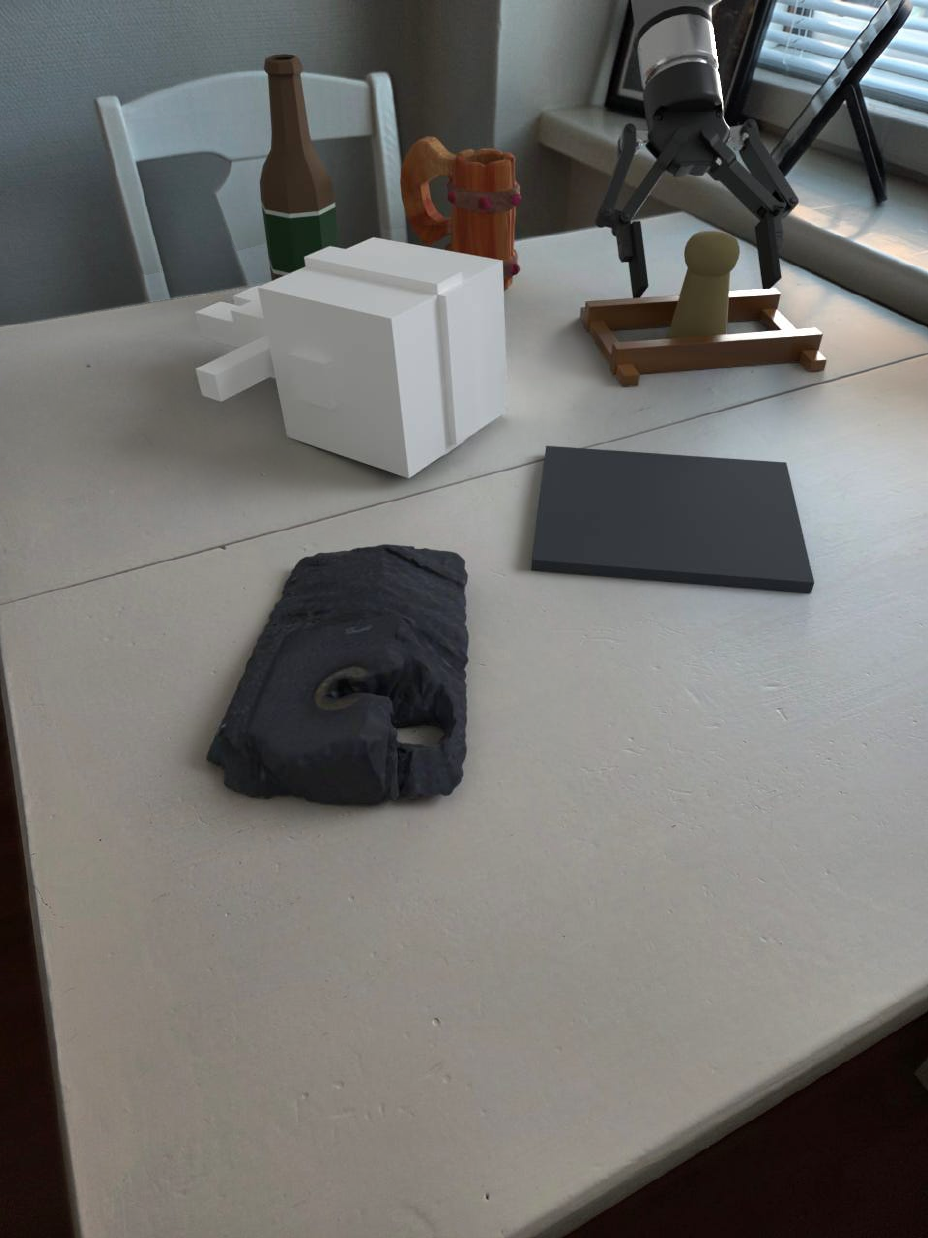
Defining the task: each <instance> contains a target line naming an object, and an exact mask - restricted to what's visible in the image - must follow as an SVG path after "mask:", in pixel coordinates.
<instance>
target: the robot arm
mask: <svg viewBox="0 0 928 1238" xmlns="http://www.w3.org/2000/svg"><path fill="white" fill-rule="evenodd" d="M721 1H722V0H630V2H631V9H632V15H633V23H634V30H635V36H636V42H635V43H636V47H637V58H638V64H639V74H640V82H641V83H640V84H641V87H642V89H643V93H642V100H643V107H644V115H645V122H646V124H645V125H646V127H647V130H645V129H637V127H636V125H635V124H633V123H631V122H628V123H626V124H625V125H624V127H623V129H622V132H621V133H620V135H619V137H618V139H617V160H616V162H615V165H614V168H613V170H612V172H611V176H610V178H609V181H608V184H607V187H606V190H605V192H604V195H603V198H602V201H601V203H600V206H599V209H598V211H597V214H596V217H595V219H594V223H595V225H596V227H598V228H599V229H602V228H609V229H610V232H611V235H612V236H614V237H615V238H616V247H617V255H618V259H619V261H620V263H628V270H629V278H630V286H631V293H632V294H631V295H632V298H640V297H643V295H644V293H645V292H646V291H647V289H648V288H649V286H650V285H649V278H648V270H647V264H646V263H647V262H646V254H645V247H644V239H643V232H642V231H643V230H642V223H641V220H636V221H635V220H633V219H634V218H635V216H636V214H637V213H638V211H640V209H641V207H642V206H643V204H644V203H645V202H646V200H647V198H648V197H649V196H650V194H651V193H652V191H653V189H655V187H656V185H657V184H658V183H659V181H660V180H661V179H662V177H663V176H664V174H665V173H666V172H667V173H668V174H670V175H671V176H673V178H682V177H685V176H694V177H703V176H704V175H705V174H708V176H709V177H711V178H712V180H714V181H716V182H720V183H721V184H722V185H723V187H725V188H726V189H727V190H728V191H729V192H730V193H731V194H732V195H733V196H734V197H735V198H736V199H737V200H738V201H739V202H740V203H741V204H742V205H743V206H744V207H745V208H746V209H747V210H748V211H749V212H750V213H751V214H752V215H753V216H754V217H755V218H756V219H758V223H756V225H755V226H754V234H755V242H756V250H757V258H758V265H759V273H760V281H761V287H762V288H761V289H763V290H765V289H772V288H774V286H775V285H776V284H777V283H778V282H779V281H781V280H782V277H783V276H782V270H781V262H780V255H779V252H780V251H781V250H782V249H783V248H784V246H785V241H786V240H785V236H784V235H785V233H784V228H783V226H784V225H783V220H782V219H785V218H787V217H788V215H789V214H790V213H791V212H792V211H793V210H794V209H795V208H796V207H797V206H798V204H799V202H800V201H799V197H798V196H797V194H796V192H795V190H794V189H793V188H792V186H791V185H790V183H789V181H788V180H787V178H786V176H785V175H784V174H783V172H782V171H781V169H780V167H779V166H778V164H777V163H776V161H775V159H774V158H773V157H772V155H771V153H770V152H769V150H768V148H767V147H766V146H765V143H764V142H763V141H762V139H761V136H760V132H759V127H758V123H757V121H756V120H755V119H753V118H748V119H746V120H745V122H744V123H743V124H741V125H734V126H729V125H728V123H727V122H726V120H725V118H724V100H723V93H722V85H721V78H720V73H719V71H718V69H719V62H718V56H717V49H716V41H715V34H714V33H715V32H714V26H713V17H712V16H713V15H712V8H713V7H714V6H715V5H717V4H719V3H720V2H721ZM727 143H731V144H732V145H733V149H732V148H731V147H729V146H728V145H727ZM643 146H645V148H646V150H647V151H648V153H650V154H651V156H652V157H653V158H654V159H655V161H654V163H653V164H652V166H651V167H650V169H649V170H648V172H647V173H646V175H645V176H644V178H643V180H642V181H641V182H640V184H639V185H638V186H637V188H636V190H635V191H634V192H633V194H632V196H631V197H630V198H629V200H628V201H627V202H626V204H625V205H624V207H623V208H622V210H619V209H615V208H616V205H617V204H618V200H619V197H620V195H621V192H622V190H623V187H624V184H625V181H626V178H627V175H628V173H629V170H630V168H631V166H632V165H631V164H632V162H633V159H634V156H636V155H638V154H639V152H640V150H641V148H643ZM733 150H734V151H735V152H738V153H739V156H740V158H741V160H742V162H743V164H744V165H742V164H741V163H740V162H739V160H738V159H737V154H736V153H735V152H734V151H733ZM718 160H720V161H721V163H720V164H719V163H718V162H717V161H718Z"/></svg>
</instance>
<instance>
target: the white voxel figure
mask: <svg viewBox="0 0 928 1238" xmlns="http://www.w3.org/2000/svg"><path fill="white" fill-rule="evenodd" d="M304 260H305V266H306V267H303V268H301V269H299V270H296V271H294V272H292V273H290V274H287V275H285V276H283V277H280V278H278V279H276V280H273V281H272V280H270V281H269V282H267V283H264V284H262V285H255V286H253V287H250V288H248V289H246V290H244V291H241V292H239V293H236V294H234V295H232V299H233V303H234V304H233V303H229V302H225V301H218V302H215V303H213V304H210V305H208V306H206V307H203V308H202V309H199V310H197V311H195V317H196V321H197V326H198V330H199V335H200V337H201V338H203V339H208V340H212V341H214V342H218V343H222V344H225V345H228V346H232V347H236V349H234V350H232V351H231V352H230V351H229V352H228V353H226V354H223V355H222V356H220V357H217V358H215V359H214V360H212V361H208V362H207V363H205V364H203V365H200V366H198V367H197V368H195V372H196V377H197V380H198V385H199V388H200V392H201V395H202V396H203V397H205V398H208V399H211V400H213V401H217V402H224V401H225V400H227V399H229V398H231V397H233V396H235V395H238V394H240V393H241V392H243V391H245V390H248V389H249V388H251V387H253V386H254V385H256V384H258V383H260V382H262V381H265V380H267V379H268V378H272V379H275V382H276V387H277V393H278V397H279V402H280V408H281V413H282V418H283V423H284V429H285V433H286V437H287V438H290V439H293V440H296V441H298V442H301V443H304V444H307V445H310V446H313V447H316V448H318V449H321V450H325V451H328V452H331V453H334V454H336V455H339V456H342V457H346V458H348V459H351V460H354V461H357V462H360V463H362V464H366V465H369V466H370V467H371V466H372V467H375V468H378V469H380V470H383V471H386V472H389V473H392V474H395V475H398V476H401V477H404V478H406V479H410V478H412V477H413V476H414V475H417V474H418V473H419V472H421V471H423V470H424V469H425V468H426V467H428V466H429V465H431V464H432V463H433V462H435V461H436V460H438V459H439V458H441V457H444V456H445V455H447V454H449V453H450V452H451V451H453V450H454V449H455V448H457V447H459V446H461V444H463V443H464V442H465V441H466V440H467V439H468V438H470V437H471V436H472V435H474V434H475V433H478V431H480V430H481V429H483V428H484V427H486V426H487V425H489V424H490V423H491V422H493V421H494V420H495V419H497V418H499V417H500V416H502V415H503V414H504V413H507V411H509V402H508V377H507V376H508V374H507V373H508V372H507V348H506V347H507V345H506V344H507V343H506V320H505V319H506V318H505V317H506V316H505V314H506V313H505V290H504V284H503V261H502V260H496V259H491V258H485V257H480V256H474V255H469V254H463V253H458V252H452V251H447V250H445V249H440V248H435V247H429V246H423V245H418V244H412V243H407V242H402V241H397V240H390V239H386V238H380V237H374V236H373V237H371V238H367V239H366V240H364V241H361V242H359V243H357V244H354V245H352V246H349V247H347V248H341V247H339V248H337V247H332V246H329V247H326V248H324V249H322V250H319V251H317V252H315V253H312V254H310V255H308V256H305V257H304Z"/></svg>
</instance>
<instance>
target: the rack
mask: <svg viewBox="0 0 928 1238" xmlns="http://www.w3.org/2000/svg"><path fill="white" fill-rule="evenodd" d="M679 296H680V294H671V295H670V294H669V295H656V296H641V297H640V298H633V297H628V298H627V297H625V298H611V299H598V300H596V299H595V300H586V301H585V302H584V303H585V304H584V306H581V307H580V310H579V319H580V321H581V322H582V323H583V324H582V327H583V329H584V330H585V332H586V333H589V335H590V336H591V338H592V340H593V341H594V343H595V345H596V347H597V348H598V349H599V351H600V353H601V354H602V356H603V357H604V359H605V361H606V362H607V364H608V366H609V371H610V373H611V374H612V376H613V377H616V378H617V381H618V382H619V384H620V386H621V387H623V388H626V387H637V386H639V383H640V376H641V375H646V374H647V375H648V374H658V373H671V372H673V373H674V372H684V371H697V370H711V369H712V370H713V369H722V368H734V367H735V368H736V367H751V366H760V365H761V366H762V365H763V366H764V365H773V364H786V363H800V364H801V365H802V366H803V367H804V368H805V369H806V370H807V371H808V372H809V373H813V372H823V371H825V368H826V365H827V361H828V360H827V358H826V357H825V356H824V355H823V354H822V353H821V352H820V351H819V350H820V346H821V344H822V343H821V342H822V339H823V335H824V334H823V333H822V332H821V330H819V329H818V328H817V327H809V328H796V327H795V326H794V325H793V324H792V323H791V322H789V320H788V319H787V318H786V317H784V315H783V314H781V312H780V311H779V310H778V308H779V304H780V299H781V296H782V294H781V292H780V291H779V290H778V289H777V288H775V287H772V288H770V289H765V290H763V288H760V289H759V288H757V289H744V290H731V291H730V290H729V300H728V318H727V323H735V322H736V323H737V322H751V321H760V322H761V323H762V324H763V325H764V326H765V327H766V328H767V329H768V331H755V332H742V333H729V334H726V335H712V336H699V337H685V338H672V339H667V338H660V339H659V338H658V339H646V340H645V339H644V340H632V341H620V342H619V341H618V339H617V338H616V337H615V335H614V333H613V332H612V331H625V330H640V329H652V328H666V327H670V326H671V323H672V320H673V316H674V313H675V309H676V306H677V303H678V299H679Z"/></svg>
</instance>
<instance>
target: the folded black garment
mask: <svg viewBox="0 0 928 1238" xmlns="http://www.w3.org/2000/svg"><path fill="white" fill-rule="evenodd" d="M468 579H469V574H468V572H467V570H466V560H465V559H464V558H463V557H462V555H460V554H458V553H457V552H454V551H451V550H450V551H449V550H438V549H431V548H427V547H424V548H415V546H414V545H401V544H390V543H389V544H388V543H387V544H386V543H384V544H378V545H373V546H365V547H356V548H352V549H350V550H340V551H331V552H318V553H316V554H313V555H312V556H304V557H302V558H301V559H300V560H298V562H296V564H295V565H294V568H293V569H292V570H291V573H290V575H289V576H288V578H287V579H286V581H285V582H284V585H283V589H282V591H281V594H282V596H281V598H280V599H279V600H278V601H277V602H276V603H275V605H274V609H272V611H271V612H270V614H269V616H268V620H267V623H266V624H265V626H264V627H263V629H262V631H261V633H260V634H259V636H258V638H257V639H256V643H255V645H253V649H252V652H251V655H250V657H249V658H248V659H247V660H246V664H245V668H244V671H243V673H242V676H241V677H240V679H239V681H238V683H237V686H236V689H235V691H234V693H233V695H232V697H231V699H230V703H229V705H228V707H227V709H226V712H225V714H224V716H223V718H222V719H221V722H220V723H221V724H219V727H218V729H217V731H216V733H215V734H214V737H213V740H212V742H211V744H210V746H209V749H208V751H207V754H206V756H205V757H206V758H205V759H206V761H207V762H209V763H211V764H212V765H215V766H217V767H221V769H222V770H223V771H224V772H223V773H224V778H223V783H222V784H223V785H224V786H225V787H226V788H227V789H229V790H231V791H233V792H236V793H244V794H245V795H246V796H248V797H250V798H258V797H259V798H262V799H264V800H269V799H272V798H273V797H275V796H277V797H278V796H281V797H286V796H287V797H288V796H289V797H293V798H299V799H303V800H305V801H308V802H312V803H319V804H323V805H334V806H335V805H336V806H368V807H369V806H375V805H376V806H377V805H379V804H382V803H383V802H384V801H388V800H392V801H395V802H396V801H397V799H398V797H400V798H401V799H410V798H411V799H416V800H418V799H419V798H420V797H421V796H422V795H426V796H431V797H434V796H439V795H442V796H444V797H448V796H450V795H452V793H453V792H454V790H455V789H456V788H457V787H458V786H459V785H460V784H461V783H462V780H463V777H464V769H463V764H464V762H465V760H466V757H467V753H468V752H467V751H468V747H467V742H466V737H467V732H466V728H467V724H468V714H467V713H468V705H467V704H468V698H467V687H468V684H467V683H466V678H467V672H466V670H465V669H466V666H467V665H468V663H469V657H468V649H469V643H470V642H469V639H470V636H469V631H468V627H467V624H466V622H467V613H466V612H467V609H466V606H467V599H466V593H465V592H466V586H467V584H468ZM416 725H437V726H438V727H439V728H440V731H442V735H441V737H440V738H439V740H438V741H437V742H436V743H434V744H430V745H426V744H422V743H410V742H401V741H399V740H398V731H397V729H396V728H400V727H403V726H416Z"/></svg>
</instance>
